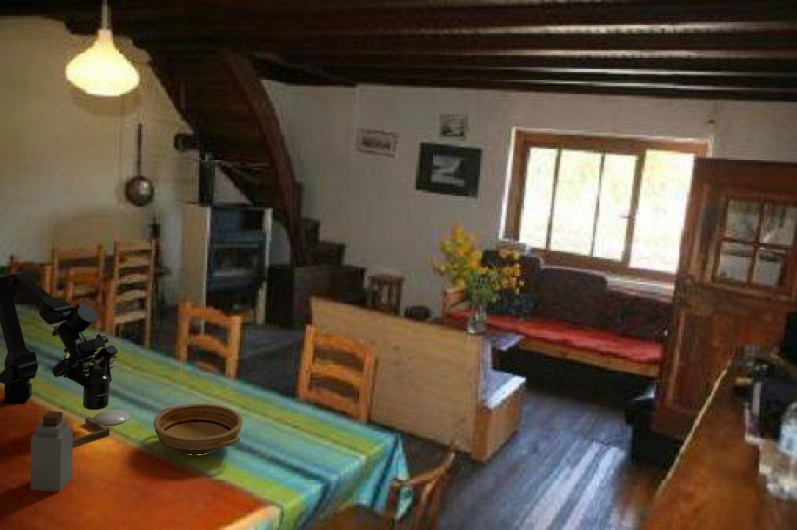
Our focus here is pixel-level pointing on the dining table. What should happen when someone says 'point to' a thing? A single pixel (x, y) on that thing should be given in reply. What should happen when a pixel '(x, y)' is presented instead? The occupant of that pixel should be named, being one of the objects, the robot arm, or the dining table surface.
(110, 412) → the coaster
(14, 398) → the robot arm
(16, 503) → the dining table surface
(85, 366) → the salad plate
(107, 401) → the supplement bottle
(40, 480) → the perfume bottle
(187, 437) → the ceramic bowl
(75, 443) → the wooden u-shaped frame
